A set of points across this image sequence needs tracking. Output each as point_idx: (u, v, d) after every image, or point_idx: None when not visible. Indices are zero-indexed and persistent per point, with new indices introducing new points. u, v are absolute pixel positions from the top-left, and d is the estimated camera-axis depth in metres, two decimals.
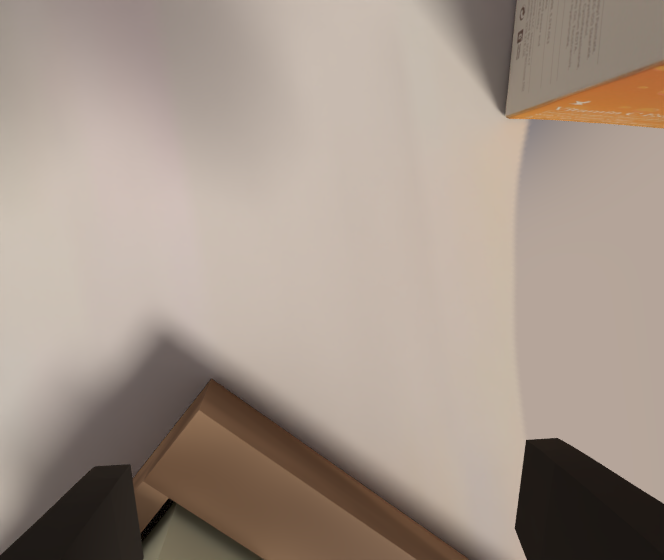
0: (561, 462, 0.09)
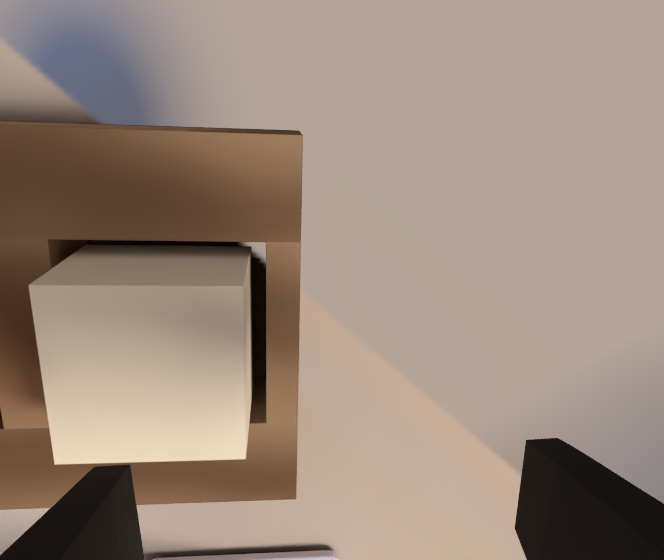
0: (561, 462, 0.09)
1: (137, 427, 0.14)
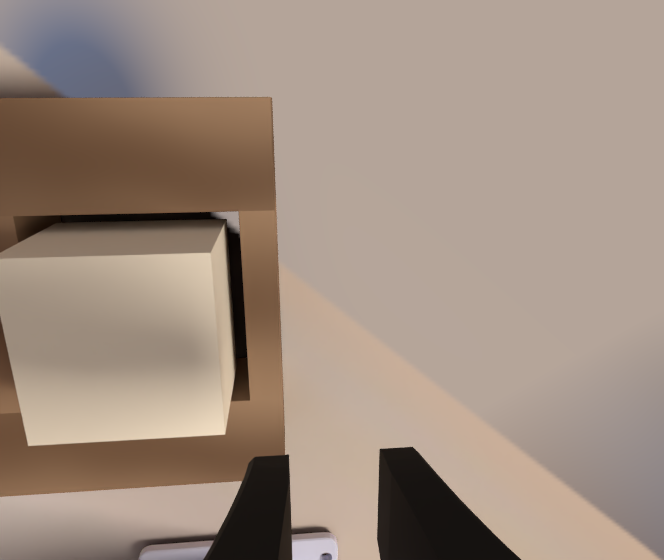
0: (398, 473, 0.08)
1: (111, 404, 0.14)
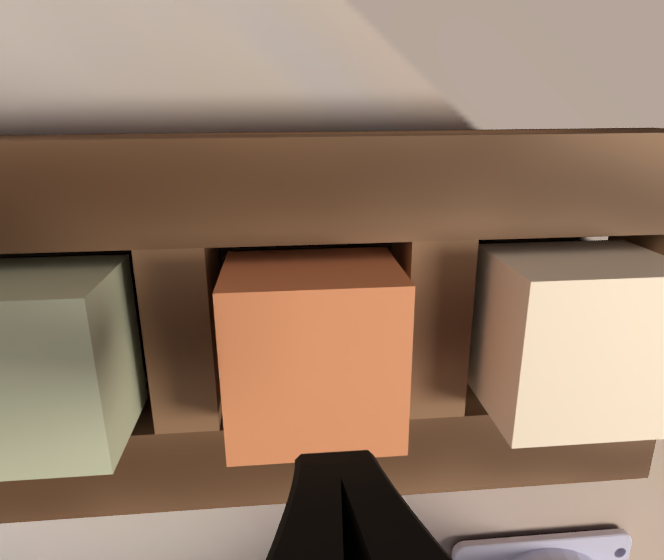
0: (347, 476, 0.08)
1: (591, 411, 0.15)
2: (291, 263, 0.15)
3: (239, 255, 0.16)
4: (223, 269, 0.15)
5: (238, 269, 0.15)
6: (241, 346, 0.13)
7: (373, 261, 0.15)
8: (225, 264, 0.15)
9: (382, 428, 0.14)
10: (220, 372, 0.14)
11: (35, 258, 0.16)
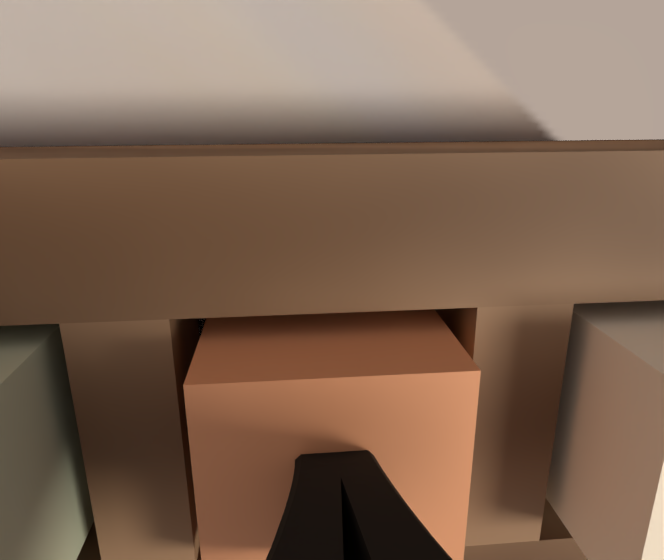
0: (347, 476, 0.08)
1: None
2: (298, 324, 0.11)
3: None
4: (203, 335, 0.11)
5: (224, 334, 0.11)
6: (227, 457, 0.09)
7: (411, 320, 0.11)
8: (207, 325, 0.11)
9: None
10: (196, 493, 0.09)
11: None
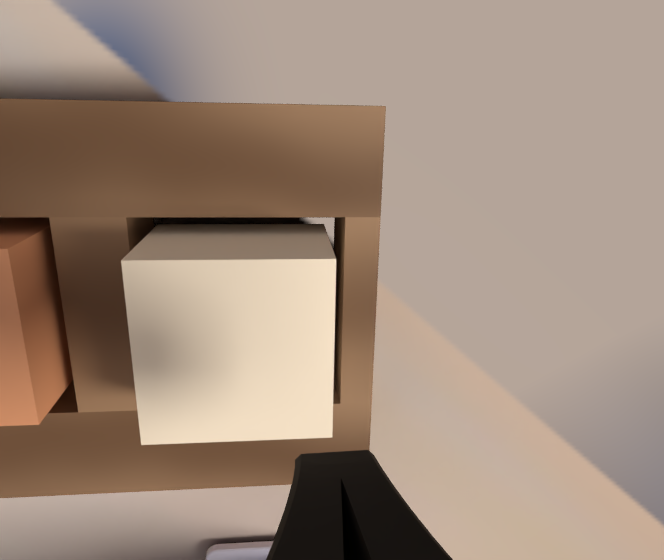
0: (347, 476, 0.08)
1: (225, 405, 0.14)
2: None
3: None
4: None
5: None
6: None
7: (21, 228, 0.15)
8: None
9: (4, 396, 0.14)
10: None
11: None
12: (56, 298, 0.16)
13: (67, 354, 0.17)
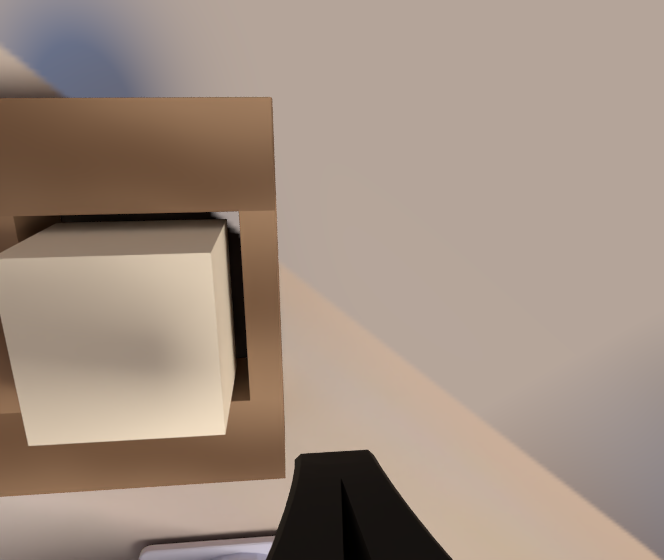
0: (347, 476, 0.08)
1: (111, 404, 0.14)
2: None
3: None
4: None
5: None
6: None
7: None
8: None
9: None
10: None
11: None
12: None
13: None
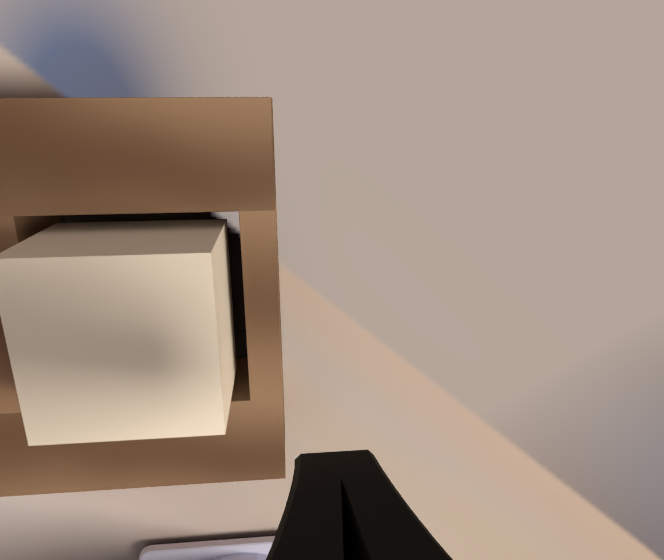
0: (347, 476, 0.08)
1: (111, 404, 0.14)
2: None
3: None
4: None
5: None
6: None
7: None
8: None
9: None
10: None
11: None
12: None
13: None
